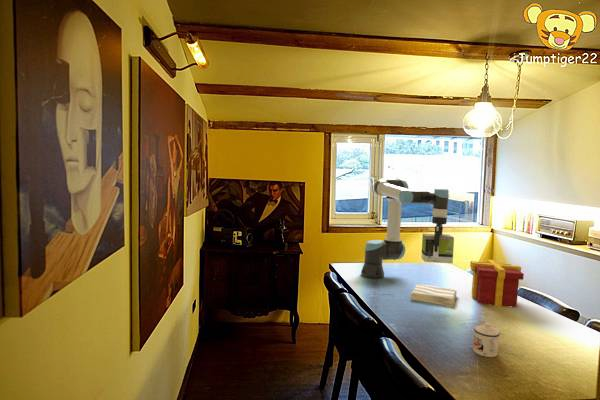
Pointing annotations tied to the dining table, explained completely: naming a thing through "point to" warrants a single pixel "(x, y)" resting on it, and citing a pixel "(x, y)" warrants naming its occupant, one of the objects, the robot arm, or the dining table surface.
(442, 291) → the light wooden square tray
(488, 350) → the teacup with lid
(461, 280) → the dining table surface
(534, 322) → the dining table surface
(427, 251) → the tea box
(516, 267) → the gift box
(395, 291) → the dining table surface
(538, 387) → the dining table surface
